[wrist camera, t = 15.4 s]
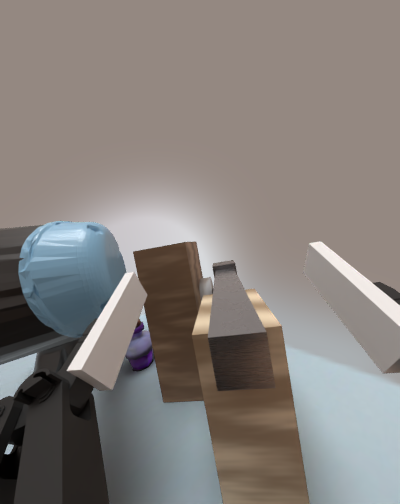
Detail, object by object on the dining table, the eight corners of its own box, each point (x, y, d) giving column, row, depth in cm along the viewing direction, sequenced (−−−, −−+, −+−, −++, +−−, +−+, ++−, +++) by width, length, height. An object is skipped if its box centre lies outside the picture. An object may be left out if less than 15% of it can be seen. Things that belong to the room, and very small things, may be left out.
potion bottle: (165, 358, 44) (156, 316, 43) (135, 382, 37) (125, 333, 36) (148, 348, 49) (140, 311, 49) (120, 368, 43) (110, 325, 42)
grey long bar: (283, 387, 9) (272, 316, 9) (210, 391, 10) (197, 324, 10) (236, 279, 35) (233, 260, 35) (216, 282, 36) (213, 263, 35)
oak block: (222, 399, 29) (203, 295, 28) (272, 397, 28) (254, 288, 27) (224, 507, 18) (191, 335, 17) (310, 511, 16) (281, 325, 15)
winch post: (180, 352, 45) (160, 248, 43) (227, 348, 43) (208, 239, 42) (163, 402, 31) (133, 251, 29) (231, 399, 29) (202, 238, 28)
